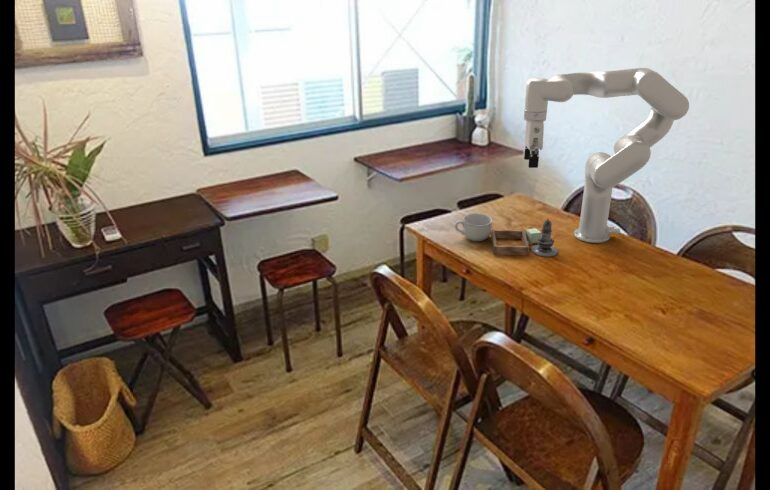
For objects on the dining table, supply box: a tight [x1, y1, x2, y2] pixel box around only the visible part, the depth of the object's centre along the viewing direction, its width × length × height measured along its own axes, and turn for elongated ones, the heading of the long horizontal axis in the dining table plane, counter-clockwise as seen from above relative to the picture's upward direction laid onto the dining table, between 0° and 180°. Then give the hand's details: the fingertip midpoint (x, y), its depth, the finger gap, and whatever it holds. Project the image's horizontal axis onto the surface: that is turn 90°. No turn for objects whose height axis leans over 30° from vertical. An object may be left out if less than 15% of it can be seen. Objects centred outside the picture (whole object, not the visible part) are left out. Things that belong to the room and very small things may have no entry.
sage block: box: [525, 228, 542, 244], centre depth 211 cm, size 4×4×4 cm
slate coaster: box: [530, 244, 559, 258], centre depth 203 cm, size 9×9×1 cm
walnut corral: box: [490, 229, 530, 256], centre depth 207 cm, size 12×15×3 cm
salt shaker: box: [537, 218, 555, 253], centre depth 200 cm, size 6×6×12 cm
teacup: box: [454, 212, 493, 242], centre depth 213 cm, size 14×11×8 cm
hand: (530, 163), depth 204 cm, fingers open, 9 cm apart
